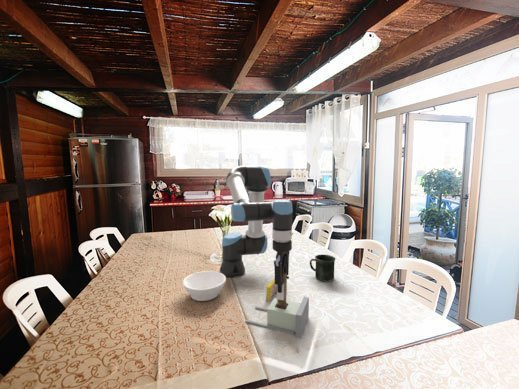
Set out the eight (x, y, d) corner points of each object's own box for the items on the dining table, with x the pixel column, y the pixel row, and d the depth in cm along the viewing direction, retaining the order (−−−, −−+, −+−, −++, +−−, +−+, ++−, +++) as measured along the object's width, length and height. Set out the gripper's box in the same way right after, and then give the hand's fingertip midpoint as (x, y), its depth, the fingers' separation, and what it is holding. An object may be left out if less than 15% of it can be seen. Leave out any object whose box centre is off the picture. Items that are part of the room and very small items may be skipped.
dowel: (276, 308, 102) (276, 275, 100) (278, 304, 105) (278, 271, 104) (284, 310, 101) (285, 276, 99) (287, 306, 104) (287, 273, 102)
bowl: (233, 288, 135) (233, 273, 134) (213, 310, 115) (212, 292, 114) (198, 282, 141) (197, 268, 140) (174, 302, 122) (173, 285, 121)
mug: (331, 284, 140) (332, 262, 138) (306, 278, 147) (306, 257, 146) (337, 276, 149) (337, 256, 147) (312, 271, 156) (313, 252, 155)
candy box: (269, 304, 119) (269, 287, 119) (265, 303, 120) (265, 286, 119) (280, 289, 134) (281, 273, 133) (277, 288, 135) (277, 273, 134)
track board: (241, 326, 103) (241, 302, 102) (255, 308, 116) (255, 287, 115) (300, 341, 94) (301, 315, 93) (308, 320, 107) (308, 297, 106)
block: (267, 325, 101) (267, 308, 101) (274, 313, 110) (274, 297, 109) (297, 332, 97) (297, 315, 96) (302, 319, 105) (302, 303, 104)
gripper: (285, 246, 91) (285, 309, 94) (296, 235, 106) (296, 289, 109) (265, 244, 94) (265, 305, 96) (279, 233, 109) (279, 286, 112)
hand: (281, 296), depth 103 cm, fingers closed on dowel, 3 cm apart
